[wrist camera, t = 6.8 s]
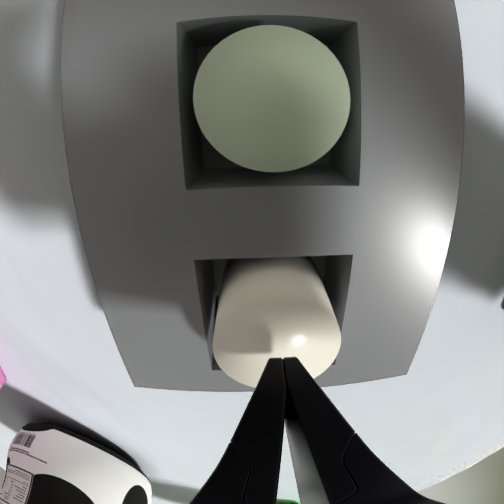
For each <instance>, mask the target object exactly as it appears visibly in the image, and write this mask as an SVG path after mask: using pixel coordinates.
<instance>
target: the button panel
mask: <svg viewBox="0 0 504 504" xmlns="http://www.w3.org/2000/svg"><path fill="white" fill-rule="evenodd" d="M260 25H280V26H286V27H291V28H294V29H297V30H300V31H303V32H305V33H307V34H309V35H311V36H312V37H314V38H316V39H317V40H319V41H320V42H321V43H323V44H324V45H325V46H326V47H327V48H328V49H329V50H330V51H331V52H332V53H333V54H334V55H335V57H336V58H337V60H338V61H339V62H340V64H341V66H342V68H343V70H344V72H345V75H346V77H347V80H348V84H349V89H350V111H349V117H348V120H347V123H346V126H345V128H344V130H343V132H342V134H341V136H340V138H339V139H338V140H337V142H336V143H335V144H334V146H333V147H332V148H331V149H330V150H329V151H328V152H327V153H326V154H324V155H323V156H322V157H321V158H319V159H318V160H316V161H314V162H313V163H311V164H309V165H306V166H304V167H301V168H298V169H295V170H291V171H286V172H262V171H256V170H252V169H248V168H245V167H243V166H240V165H238V164H236V163H234V162H232V161H231V160H229V159H227V158H226V157H224V156H223V155H222V154H220V153H219V152H218V151H217V150H216V149H215V148H214V147H213V146H212V145H211V144H210V142H209V141H208V140H207V139H206V137H205V136H204V134H203V132H202V130H201V129H200V126H199V124H198V122H197V119H196V115H195V111H194V104H193V89H194V83H195V79H196V76H197V73H198V70H199V68H200V66H201V64H202V62H203V61H204V59H205V58H206V56H207V55H208V54H209V52H210V51H211V50H212V49H213V48H214V47H215V46H216V45H217V44H218V43H220V42H221V41H222V40H224V39H225V38H227V37H228V36H230V35H232V34H234V33H236V32H238V31H240V30H243V29H246V28H249V27H255V26H260ZM61 98H62V115H63V127H64V138H65V146H66V155H67V162H68V169H69V175H70V182H71V187H72V193H73V198H74V203H75V208H76V213H77V218H78V222H79V227H80V231H81V235H82V239H83V243H84V247H85V251H86V255H87V259H88V262H89V266H90V269H91V273H92V276H93V280H94V283H95V286H96V289H97V292H98V295H99V299H100V302H101V305H102V307H103V310H104V313H105V316H106V319H107V322H108V324H109V327H110V330H111V332H112V335H113V338H114V340H115V343H116V345H117V348H118V350H119V353H120V355H121V357H122V360H123V362H124V365H125V367H126V369H127V371H128V374H129V376H130V378H131V380H132V383H133V385H134V387H144V388H155V389H168V390H184V391H212V392H249V391H254V390H255V388H254V387H251V386H247V385H244V384H242V383H240V382H238V381H236V380H234V379H232V378H231V377H229V376H228V375H227V374H226V373H225V372H224V371H223V370H222V369H221V368H220V367H219V365H218V364H217V362H216V360H215V358H214V354H213V347H212V345H213V337H214V330H215V323H216V316H217V310H218V303H219V297H220V291H221V284H222V278H223V274H224V270H225V268H226V266H227V264H228V263H229V261H230V260H231V259H240V258H270V257H298V256H310V257H311V259H312V260H313V262H314V263H315V265H316V267H317V270H318V273H319V275H320V278H321V280H322V283H323V285H324V288H325V291H326V293H327V296H328V298H329V301H330V304H331V306H332V309H333V312H334V315H335V317H336V320H337V323H338V325H339V328H340V332H341V346H340V349H339V352H338V354H337V356H336V358H335V360H334V361H333V363H332V364H331V365H330V366H329V367H328V368H327V369H326V370H325V371H324V372H323V373H321V374H320V375H319V376H317V377H316V378H314V380H315V381H316V383H317V384H318V385H319V386H320V387H328V386H336V385H345V384H352V383H359V382H366V381H373V380H379V379H384V378H390V377H395V376H401V375H406V374H407V372H408V370H409V368H410V365H411V363H412V361H413V358H414V356H415V353H416V351H417V348H418V345H419V343H420V340H421V338H422V335H423V332H424V329H425V327H426V324H427V321H428V318H429V315H430V312H431V309H432V306H433V303H434V299H435V296H436V293H437V289H438V286H439V282H440V279H441V275H442V271H443V267H444V263H445V259H446V255H447V251H448V247H449V242H450V237H451V232H452V227H453V222H454V217H455V211H456V205H457V198H458V191H459V184H460V175H461V166H462V154H463V139H464V74H463V60H462V49H461V40H460V32H459V25H458V19H457V13H456V7H455V2H454V0H65V3H64V12H63V23H62V39H61Z"/></svg>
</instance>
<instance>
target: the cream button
mask: <svg viewBox="0 0 504 504" xmlns="http://www.w3.org/2000/svg"><path fill="white" fill-rule="evenodd" d="M340 346H341V332H340V328H339V325H338V323H337V320H336V317H335V315H334V312H333V309H332V306H331V304H330V301H329V298H328V296H327V293H326V291H325V288H324V285H323V283H322V280H321V278H320V275H319V273H318V270H317V267H316V265H315V263H314V262H313V260H312V259H311V257H310V256H298V257H270V258H240V259H231V260H230V261H229V263H228V264H227V266H226V268H225V270H224V274H223V278H222V284H221V291H220V297H219V303H218V310H217V316H216V323H215V330H214V337H213V345H212V347H213V354H214V358H215V360H216V362H217V364H218V365H219V367H220V368H221V369H222V370H223V371H224V372H225V373H226V374H227V375H228V376H229V377H231V378H232V379H234V380H236V381H238V382H240V383H242V384H244V385H247V386H251V387H254V388H256V386H257V384H258V382H259V379H260V377H261V375H262V373H263V370H264V368H265V366H266V364H267V361H268V359H269V358H278V357H281V358H282V359H283V358H284V357H297V358H298V359H299V361H300V362H301V363H302V364H303V366H304V367H305V368H306V370H307V371H308V372H309V374H310V375H311V376H312V377H313V379H314V378H316V377H317V376H319V375H320V374H321V373H323V372H324V371H325V370H326V369H327V368H328V367H329V366H330V365H331V364H332V363H333V361H334V360H335V358H336V356H337V354H338V352H339V349H340Z"/></svg>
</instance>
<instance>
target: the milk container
mask: <svg viewBox="0 0 504 504" xmlns="http://www.w3.org/2000/svg"><path fill="white" fill-rule="evenodd" d="M0 504H152V489H151V485H150V482H149V480H148V478H147V477H146V475H145V474H144V473H143V472H142V471H141V470H140V469H139V468H138V467H136V466H135V465H133V464H132V463H131V462H130V461H129V460H127V459H125V458H124V457H122V456H120V455H118V454H117V453H115V452H113V451H112V450H110V449H108V448H106V447H104V446H102V445H100V444H98V443H96V442H94V441H92V440H90V439H88V438H86V437H84V436H81V435H79V434H76V433H74V432H71V431H69V430H66V429H64V428H61V427H58V426H54V425H50V424H47V423H28V424H27V425H25V426H23V427H22V428H21V430H20V431H19V432H18V433H17V434H16V436H15V437H14V439H13V440H12V442H11V444H10V447H9V451H8V457H7V467H6V475H5V480H4V484H3V486H2V489H1V492H0Z"/></svg>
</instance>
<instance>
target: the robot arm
mask: <svg viewBox="0 0 504 504" xmlns="http://www.w3.org/2000/svg"><path fill="white" fill-rule="evenodd" d="M284 421H285V427H286V433H287V438H288V443H289V448H290V453H291V458H292V463H293V468H294V473H295V478H296V483H297V488H298V493H299V498H300V503H301V504H445V503H442V502H438V501H435V500H432V499H429V498H426V497H424V496H422V495H420V494H419V493H417V492H416V491H415V490H413V489H412V488H411V487H410V486H409V485H407V484H406V483H405V482H404V481H403V480H402V479H401V478H399V477H398V476H397V475H396V474H395V473H394V472H393V471H392V470H390V469H389V468H388V467H387V466H386V465H385V464H384V463H383V462H382V461H381V460H380V459H379V458H378V457H377V456H376V455H375V454H374V453H373V452H372V451H371V450H370V449H369V448H368V446H367V445H366V444H365V443H364V442H363V441H362V439H361V438H360V437H359V436H358V434H357V433H355V431H354V430H353V428H352V427H351V426H350V425H349V423H348V422H347V421H346V420H345V418H344V417H343V416H342V415H341V413H340V412H339V411H338V409H337V408H336V407H335V406H334V404H333V403H332V402H331V401H330V399H329V398H328V397H327V395H326V394H325V393H324V392H323V390H322V389H321V388H320V386H319V385H318V384H317V383H316V381H315V380H314V379H313V377H312V376H311V375H310V374H309V372H308V371H307V370H306V368H305V367H304V366H303V364H302V363H301V362H300V361H299V359H298V358H297V357H284V358H283V359H282V358H281V357H278V358H269V359H268V361H267V364H266V366H265V368H264V370H263V373H262V375H261V377H260V379H259V382H258V384H257V386H256V388H255V390H254V393H253V395H252V397H251V399H250V401H249V403H248V406H247V408H246V410H245V412H244V414H243V416H242V418H241V420H240V422H239V425H238V427H237V429H236V431H235V433H234V435H233V437H232V439H231V441H230V442H231V443H229V445H228V447H227V449H226V451H225V453H224V454H223V456H222V458H221V460H220V462H219V463H218V465H217V467H216V468H215V470H214V471H213V473H212V474H211V476H210V477H209V479H208V480H207V482H206V483H205V484H204V486H203V487H202V488H201V489H200V491H199V492H198V493H197V495H196V496H195V497H194V499H193V500H192V501H191V502H190V504H276V499H277V490H278V482H279V473H280V463H281V454H282V443H283V433H284ZM354 433H355V434H354Z"/></svg>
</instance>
